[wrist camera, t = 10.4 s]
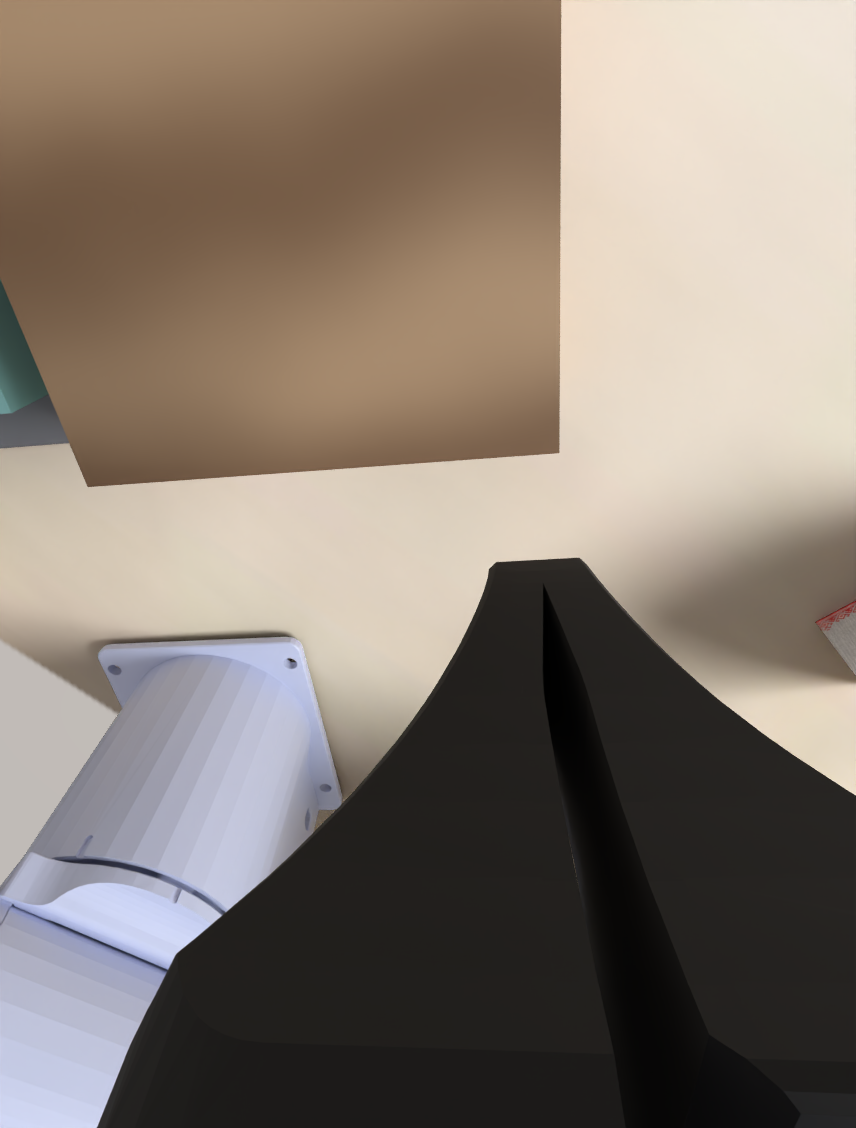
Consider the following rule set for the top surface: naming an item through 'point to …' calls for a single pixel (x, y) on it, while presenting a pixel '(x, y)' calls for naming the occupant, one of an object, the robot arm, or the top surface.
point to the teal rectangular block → (16, 363)
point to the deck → (285, 229)
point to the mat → (32, 426)
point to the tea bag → (842, 632)
